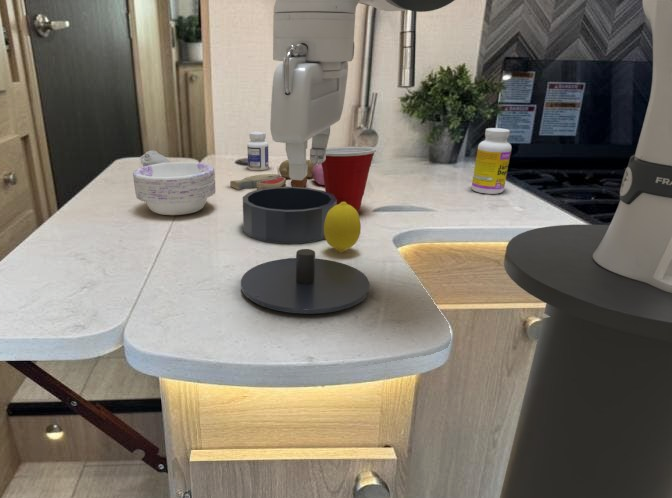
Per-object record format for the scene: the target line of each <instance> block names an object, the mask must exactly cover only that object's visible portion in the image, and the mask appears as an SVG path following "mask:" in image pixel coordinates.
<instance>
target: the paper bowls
mask: <svg viewBox="0 0 672 498" xmlns="http://www.w3.org/2000/svg"><path fill="white" fill-rule="evenodd" d="M215 173H216V172H215V168H214V166H212V165H211V164H208V163H204V162H199V161H198V162H197V161H196V162H194V161H170V162H169V163H160V164H153V165H148V166H144V167H143V166H141V167H138V168H136V169H135V170H133V173H132V177H133V186H134V192H135V193H134V194H135V197H136V199H137V200H139V201H141V202H144V203H146V205H147V206H148V209H149V210H150V211H152V212H153V213H154V214H157V215H163V216H183V215H184V216H185V215H191V214H195V213H197V212H199V211H200V210H202V209H203V208H204V206H205V205H206V202H207V200H208V198H211V197H212V196H214V195H215V194H216V174H215Z"/></svg>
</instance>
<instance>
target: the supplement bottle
mask: <svg viewBox="0 0 672 498" xmlns="http://www.w3.org/2000/svg"><path fill="white" fill-rule="evenodd" d="M510 132H511V130H510V129H507V128H502V127H501V128H500V127H488V128H485V132H484V137H485V139H484V140H482V141H480V142H479V143H478V145H477V151H476V158H475V163H474V169H473V174H472V180H471V189H472V190H473V191H474V192H476V193H480V194H487V195H497V194H501V193H502V192H504V190H505V185H506V180H507V177H508V170H509V164H510V159H511V155H512V149H513V148H512V144H511V143H510V142H508V138H509V137H510Z"/></svg>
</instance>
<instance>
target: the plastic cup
mask: <svg viewBox="0 0 672 498" xmlns="http://www.w3.org/2000/svg"><path fill="white" fill-rule="evenodd" d="M375 153H377V148H376V147H372V146H333V147H327V148H326V160H325V161H324V162H323V163H321V165H322V169H323V176H324V184H325V185H324V191H325V192H328V193H330V194H333V195H334V196H335V198H336V199H337V205H338V204H340V203H341V202H346V203H347V204H348V205H351V206H352V207H353V208H355V209H356V211H357V212H358V213H359V212H360V209H361V206H362V203H363V197H364V195H365V192H366V191H365V190H366V186H367V182H368V177H369V173H370V168H371V167H372V161H373V158H374V155H375Z"/></svg>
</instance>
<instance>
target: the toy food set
mask: <svg viewBox="0 0 672 498" xmlns="http://www.w3.org/2000/svg"><path fill="white" fill-rule="evenodd" d="M306 162H308V169H307V172H308V173H307V176H306V177H305V178H304V179H303V180H292V179H291V178H290V177H289V162H288V159H285V160H284V161H282V162H281V163H280V164H279V166H278V172H279V174H277V173H266V174H265V173H263V174H255V175H251V176H246V177H244V178H242V179H240V180H230V182H229V185H230V187H231V188H233V189H234V190H235V189H236V190H238V191H240V190H242V189H252V188H256V190H260V189H266V188H273V187H287V184H286V183H287V179H291V181H290V187H302V188H305V186H306V185H307V182H308V178H309V179H310V178H312V180H314V181H315V182H316V183H317V184H318V185H320V186H325V184H324V176H323V169H322V165H321V164H312V163H311V162H310V159H306Z"/></svg>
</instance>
